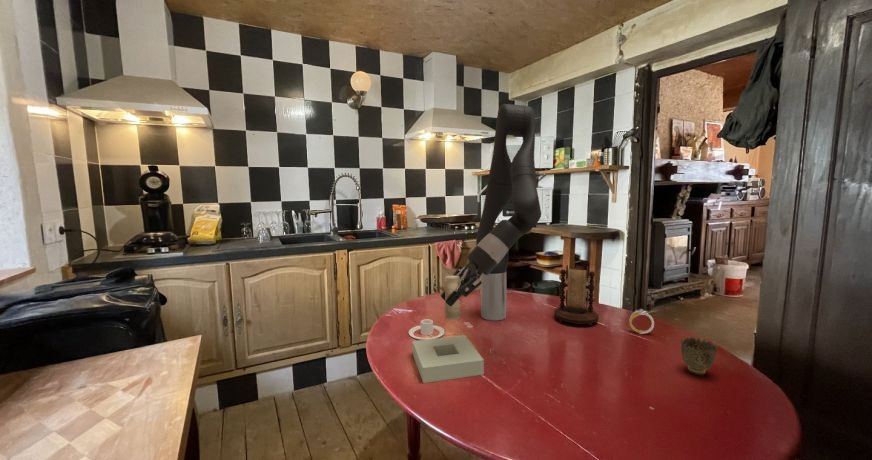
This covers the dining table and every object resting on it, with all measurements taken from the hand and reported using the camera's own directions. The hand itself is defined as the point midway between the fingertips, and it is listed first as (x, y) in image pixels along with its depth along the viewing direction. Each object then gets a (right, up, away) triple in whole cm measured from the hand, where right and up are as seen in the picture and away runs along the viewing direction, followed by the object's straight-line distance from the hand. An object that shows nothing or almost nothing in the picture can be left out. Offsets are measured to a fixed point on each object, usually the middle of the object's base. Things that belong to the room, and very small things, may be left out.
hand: (445, 301), depth 98 cm
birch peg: (+2, -5, +1) cm, 5 cm away
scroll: (+48, -13, +33) cm, 59 cm away
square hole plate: (0, -18, +3) cm, 18 cm away
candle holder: (-6, -16, +24) cm, 29 cm away
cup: (+64, -18, -4) cm, 67 cm away
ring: (+64, -15, +20) cm, 69 cm away
